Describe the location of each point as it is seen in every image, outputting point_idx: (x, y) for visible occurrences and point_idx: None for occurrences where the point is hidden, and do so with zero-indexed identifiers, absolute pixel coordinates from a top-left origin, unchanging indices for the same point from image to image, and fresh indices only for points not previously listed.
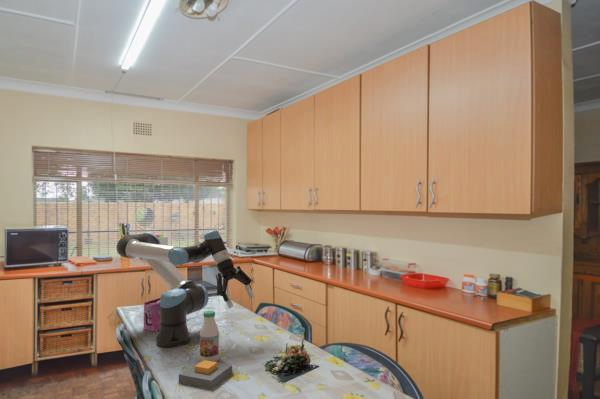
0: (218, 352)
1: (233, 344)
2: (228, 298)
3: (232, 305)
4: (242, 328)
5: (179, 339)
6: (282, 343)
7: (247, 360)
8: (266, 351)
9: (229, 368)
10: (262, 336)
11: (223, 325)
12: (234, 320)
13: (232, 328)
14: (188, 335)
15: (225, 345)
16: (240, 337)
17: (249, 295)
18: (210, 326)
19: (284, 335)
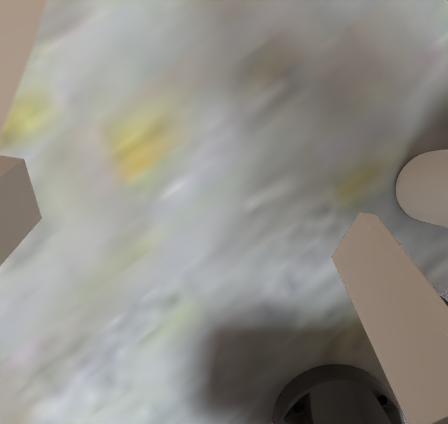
0: (445, 150)
1: (256, 205)
2: (437, 303)
3: (377, 220)
4: (85, 286)
5: (371, 391)
6: (149, 18)
7: (374, 50)
8: (261, 32)
9: None
10: (122, 151)
11: (96, 375)
12: (21, 375)
13: (107, 322)
14: (322, 390)
15: (279, 227)
16: (178, 228)
17: (13, 232)
18: None
19: (60, 66)
